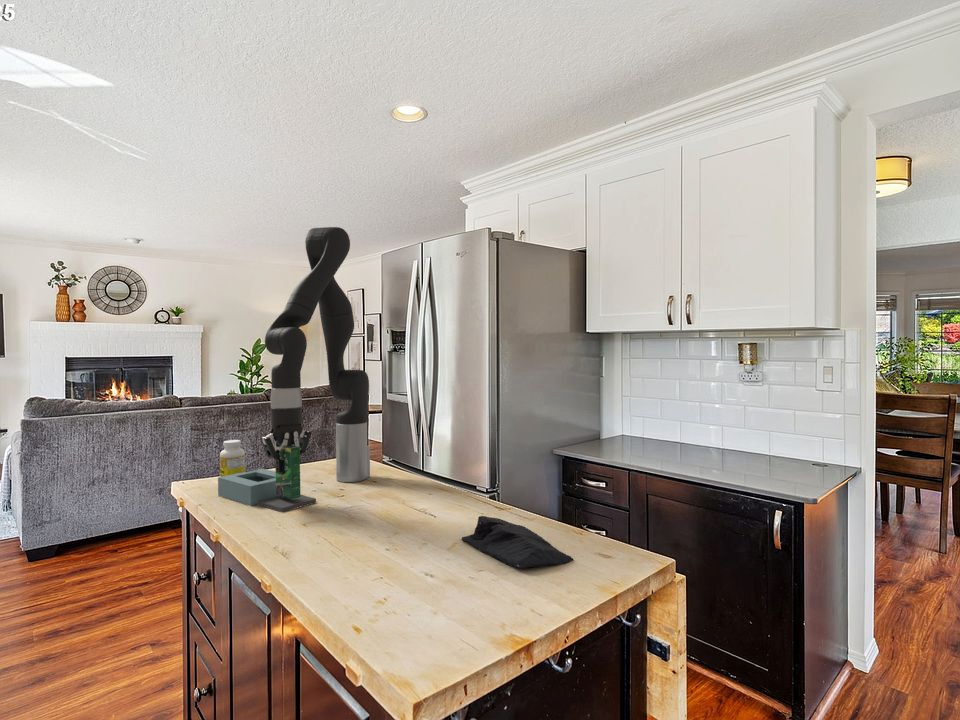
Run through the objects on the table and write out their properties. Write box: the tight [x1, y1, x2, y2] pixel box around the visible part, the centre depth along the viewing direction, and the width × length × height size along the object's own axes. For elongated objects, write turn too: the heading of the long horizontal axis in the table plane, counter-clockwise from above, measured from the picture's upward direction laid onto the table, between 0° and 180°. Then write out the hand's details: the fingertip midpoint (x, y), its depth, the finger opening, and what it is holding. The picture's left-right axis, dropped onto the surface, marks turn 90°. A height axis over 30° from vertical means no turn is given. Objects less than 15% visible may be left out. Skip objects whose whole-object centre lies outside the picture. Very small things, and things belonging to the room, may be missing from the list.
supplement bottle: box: [219, 439, 246, 477], centre depth 156 cm, size 7×7×13 cm
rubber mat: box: [257, 494, 317, 513], centre depth 137 cm, size 10×10×1 cm
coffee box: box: [274, 445, 302, 500], centre depth 137 cm, size 8×3×13 cm, turn 49°
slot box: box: [217, 468, 279, 507], centre depth 145 cm, size 13×16×5 cm
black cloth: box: [461, 515, 574, 570], centre depth 106 cm, size 15×22×5 cm
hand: (287, 472), depth 137 cm, fingers closed on coffee box, 3 cm apart
